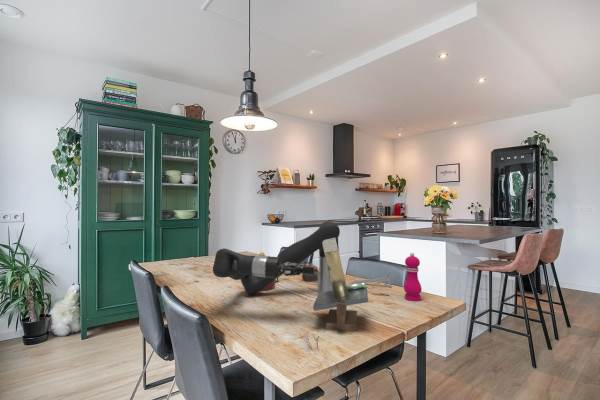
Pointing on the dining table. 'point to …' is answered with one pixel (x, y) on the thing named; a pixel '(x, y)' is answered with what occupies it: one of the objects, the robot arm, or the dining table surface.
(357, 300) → the brushed metal stamp
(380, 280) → the caliper
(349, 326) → the stand
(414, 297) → the pepper mill
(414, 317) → the dining table surface
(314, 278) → the cupcake
